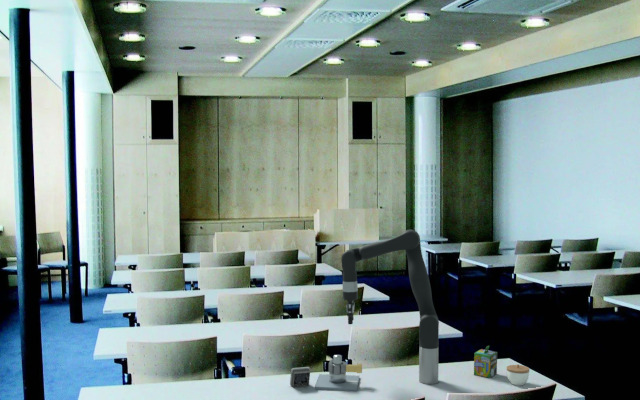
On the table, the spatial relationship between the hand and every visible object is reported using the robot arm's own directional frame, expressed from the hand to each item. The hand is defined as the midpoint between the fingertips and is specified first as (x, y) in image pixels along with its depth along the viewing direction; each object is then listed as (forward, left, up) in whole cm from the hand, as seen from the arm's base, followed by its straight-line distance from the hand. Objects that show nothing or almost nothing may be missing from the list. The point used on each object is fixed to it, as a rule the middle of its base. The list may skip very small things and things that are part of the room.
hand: (350, 322), depth 357 cm
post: (+5, +13, -26) cm, 30 cm away
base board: (+5, +13, -27) cm, 31 cm away
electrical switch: (+22, +19, -28) cm, 40 cm away
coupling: (+2, +13, -21) cm, 25 cm away
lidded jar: (-82, +2, -28) cm, 86 cm away
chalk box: (-68, -11, -28) cm, 74 cm away
